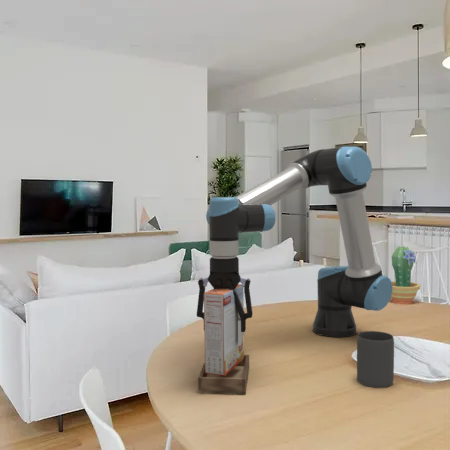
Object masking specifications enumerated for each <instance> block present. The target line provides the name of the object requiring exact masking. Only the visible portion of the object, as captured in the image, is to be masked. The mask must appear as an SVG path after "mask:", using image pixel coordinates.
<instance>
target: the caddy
mask: <svg viewBox="0 0 450 450" xmlns="http://www.w3.org/2000/svg"><path fill="white" fill-rule="evenodd" d="M249 373H250V355H249V354H244V359H243V360H242V361H241V362H240V363H239V364H238V365H237V366H236V367H235V368H233V369H232V370H231V371H230V372H229V373H228V374H227V375H226V376H220V375H213V374H206V373H205V362H203V365H202V367H201V370H200V373H199V375H198V377H197V387H198V389H197V392H198V394H207V395H208V394H209V395H210V394H213V395H246V393H247V387H248V381H249Z"/></svg>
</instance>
